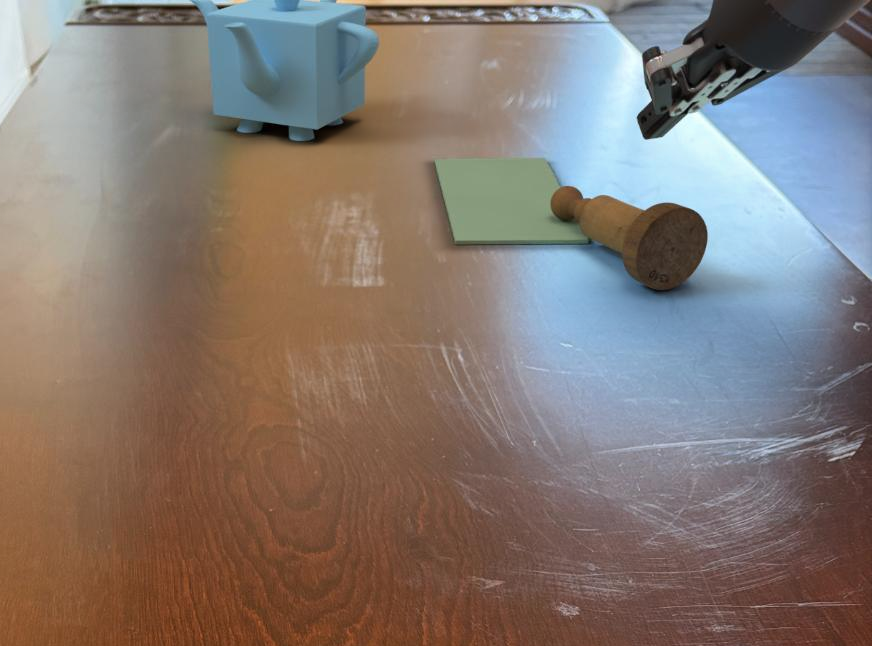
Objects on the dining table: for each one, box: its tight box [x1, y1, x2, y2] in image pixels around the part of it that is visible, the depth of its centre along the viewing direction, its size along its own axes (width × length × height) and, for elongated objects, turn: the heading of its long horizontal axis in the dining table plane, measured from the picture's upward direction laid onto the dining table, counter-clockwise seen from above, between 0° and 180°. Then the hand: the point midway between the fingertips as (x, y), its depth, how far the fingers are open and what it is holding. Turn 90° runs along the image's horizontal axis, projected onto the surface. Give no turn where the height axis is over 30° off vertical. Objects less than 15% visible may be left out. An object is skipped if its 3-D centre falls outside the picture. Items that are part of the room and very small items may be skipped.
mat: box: [433, 157, 590, 246], centre depth 103 cm, size 12×24×1 cm, turn 0°
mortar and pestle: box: [550, 185, 709, 291], centre depth 90 cm, size 7×6×18 cm
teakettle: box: [189, 0, 380, 142], centre depth 120 cm, size 19×19×15 cm
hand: (647, 128), depth 81 cm, fingers closed
